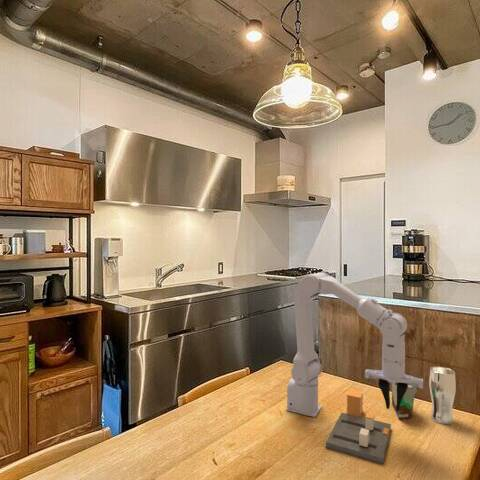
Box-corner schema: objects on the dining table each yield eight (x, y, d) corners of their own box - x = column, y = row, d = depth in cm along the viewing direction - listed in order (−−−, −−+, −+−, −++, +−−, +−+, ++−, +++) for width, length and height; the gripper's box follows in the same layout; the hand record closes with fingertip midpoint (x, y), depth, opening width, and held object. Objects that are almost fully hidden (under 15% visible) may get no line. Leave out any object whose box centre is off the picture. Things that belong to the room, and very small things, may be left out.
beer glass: (452, 416, 110) (452, 367, 110) (458, 427, 103) (458, 376, 103) (427, 412, 112) (427, 365, 112) (431, 423, 106) (431, 373, 105)
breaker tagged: (365, 428, 99) (365, 416, 99) (367, 423, 102) (367, 412, 102) (372, 430, 98) (372, 418, 98) (374, 425, 101) (374, 413, 101)
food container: (422, 424, 105) (422, 390, 105) (399, 422, 106) (400, 388, 106) (410, 404, 117) (410, 374, 117) (390, 403, 118) (391, 373, 118)
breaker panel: (325, 447, 93) (325, 441, 93) (341, 417, 109) (341, 411, 109) (382, 464, 86) (382, 457, 86) (390, 429, 102) (390, 423, 102)
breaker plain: (359, 445, 91) (359, 433, 91) (361, 439, 94) (361, 428, 94) (367, 447, 90) (367, 435, 90) (369, 441, 93) (369, 430, 93)
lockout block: (347, 413, 111) (347, 394, 111) (349, 408, 115) (349, 390, 114) (360, 417, 109) (360, 397, 109) (362, 411, 113) (362, 392, 113)
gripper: (363, 358, 97) (362, 408, 97) (422, 368, 90) (422, 421, 90) (367, 351, 103) (367, 398, 103) (423, 360, 96) (423, 409, 96)
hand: (393, 408), depth 97 cm, fingers closed
